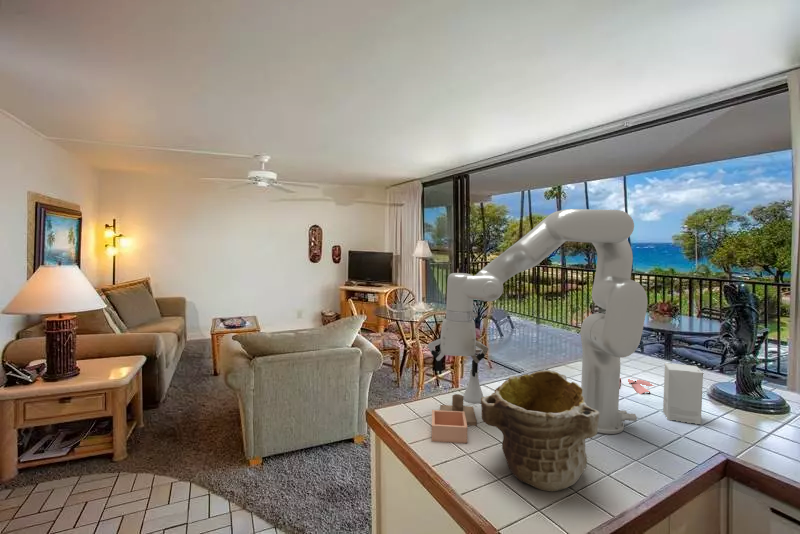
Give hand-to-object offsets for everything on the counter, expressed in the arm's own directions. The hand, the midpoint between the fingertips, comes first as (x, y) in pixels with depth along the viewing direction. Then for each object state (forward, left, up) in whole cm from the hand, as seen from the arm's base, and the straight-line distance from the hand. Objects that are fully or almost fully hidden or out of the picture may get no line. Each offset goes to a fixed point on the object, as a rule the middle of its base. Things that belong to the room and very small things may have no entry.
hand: (456, 374), depth 108 cm
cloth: (-63, -32, -14) cm, 72 cm away
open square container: (+2, +10, -13) cm, 17 cm away
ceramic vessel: (-16, +24, -13) cm, 32 cm away
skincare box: (-67, -7, -13) cm, 68 cm away
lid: (-1, 0, -13) cm, 13 cm away
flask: (-7, -13, -13) cm, 20 cm away
